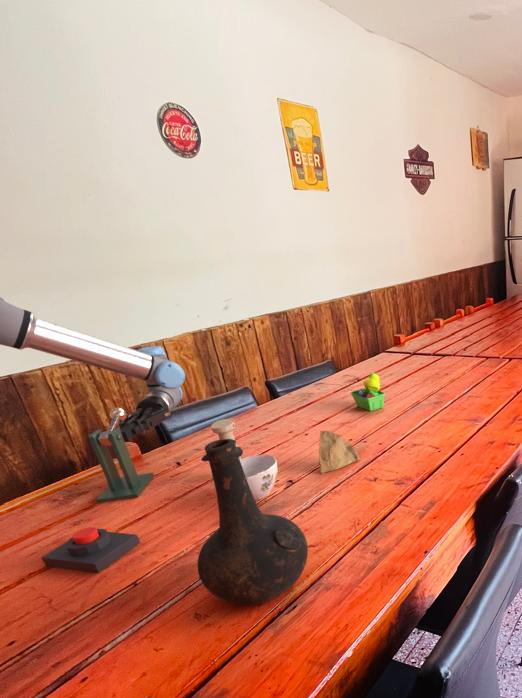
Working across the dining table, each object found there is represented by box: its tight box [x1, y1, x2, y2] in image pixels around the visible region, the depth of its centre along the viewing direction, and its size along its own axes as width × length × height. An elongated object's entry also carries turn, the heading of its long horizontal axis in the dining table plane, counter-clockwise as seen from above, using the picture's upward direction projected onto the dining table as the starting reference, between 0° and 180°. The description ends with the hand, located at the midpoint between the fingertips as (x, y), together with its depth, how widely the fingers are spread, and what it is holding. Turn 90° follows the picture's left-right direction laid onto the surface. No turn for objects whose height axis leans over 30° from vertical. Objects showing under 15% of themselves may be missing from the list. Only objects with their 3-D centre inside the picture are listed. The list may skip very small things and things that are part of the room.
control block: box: [41, 528, 141, 574], centre depth 103 cm, size 13×10×4 cm
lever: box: [98, 407, 128, 447], centre depth 127 cm, size 13×4×4 cm, turn 13°
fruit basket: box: [350, 372, 386, 412], centre depth 175 cm, size 11×9×11 cm
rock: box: [318, 430, 361, 475], centre depth 134 cm, size 11×9×10 cm
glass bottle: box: [197, 439, 309, 606], centre depth 86 cm, size 18×18×28 cm
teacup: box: [240, 454, 278, 501], centre depth 120 cm, size 15×12×8 cm
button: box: [71, 526, 99, 545], centre depth 101 cm, size 4×4×2 cm
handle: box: [210, 418, 242, 459], centre depth 129 cm, size 5×6×15 cm
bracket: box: [88, 427, 155, 504], centre depth 125 cm, size 12×9×16 cm
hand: (123, 437), depth 131 cm, fingers closed
